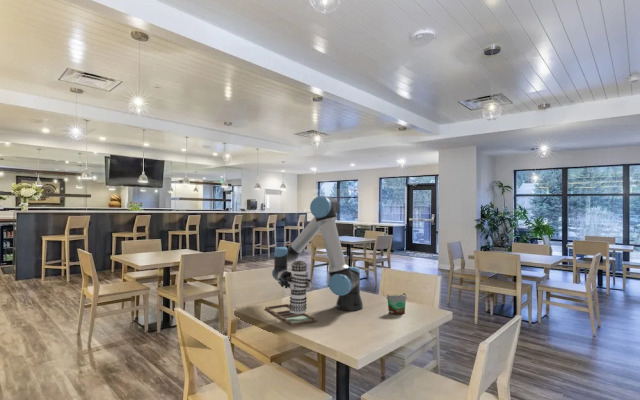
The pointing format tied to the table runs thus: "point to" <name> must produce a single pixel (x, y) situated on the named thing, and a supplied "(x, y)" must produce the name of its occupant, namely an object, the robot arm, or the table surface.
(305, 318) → the brown flat rectangular frame
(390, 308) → the food container
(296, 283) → the decorative candle
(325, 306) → the table surface
